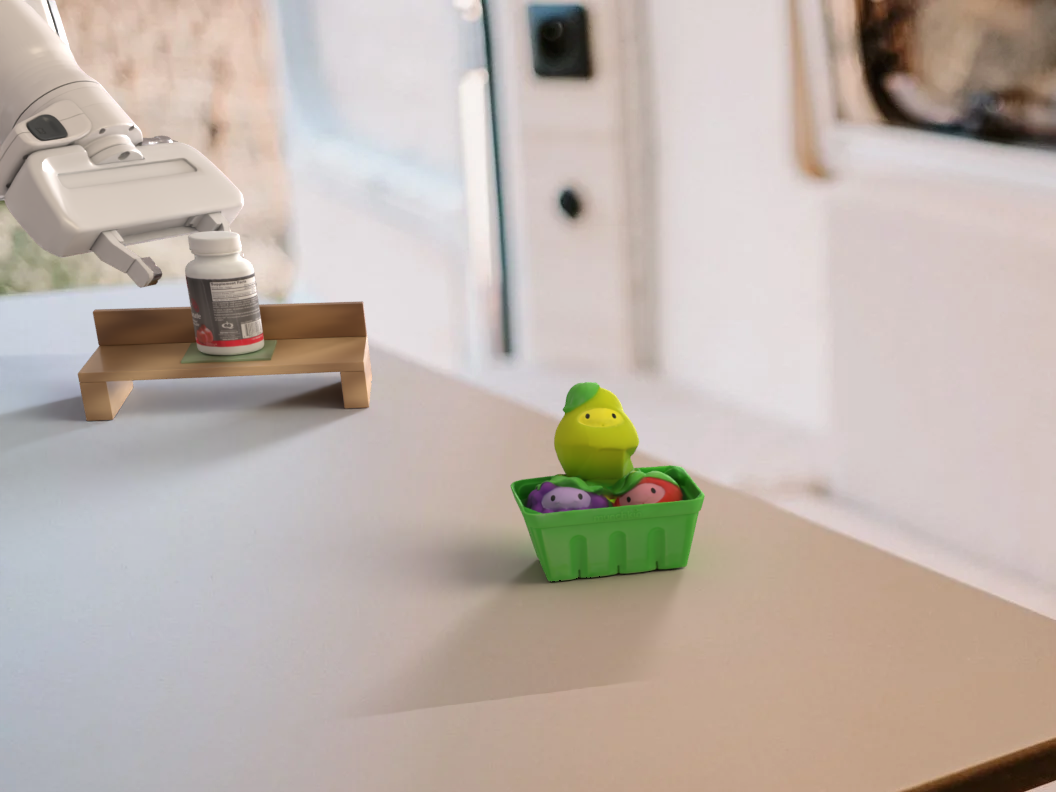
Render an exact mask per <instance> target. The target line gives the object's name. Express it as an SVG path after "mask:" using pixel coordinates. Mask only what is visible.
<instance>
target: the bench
mask: <svg viewBox="0 0 1056 792" xmlns="http://www.w3.org/2000/svg"><path fill="white" fill-rule="evenodd" d="M259 308H260V315H261V322H262V329H263V336H264V346H263V348H262V349H260V350H258V351H255V352H251V353H246V354H240V355H211V354H206V353H203V352H201V351H199V350H198V348H197V342H196V338H195V331H194V324H193V318H192V312H191V306H166V307H165V306H163V307H133V308H132V307H129V308H102V309H101V308H99V309H94V310H93V311H92V317H93V322H94V327H95V332H96V338H97V344H98V347H97V348H96V349H95V351H93V353H92V354H91V356H90V357H89V358H88V360H87V361H86V362H85V363H84V365H83V366H82V367H81V369H80V370H79V371H78V372H77V378H78V383H79V388H80V394H81V400H82V404H83V410H84V415H85V420H86V422H93V421H95V422H96V421H113V420H114V419H115V417H116V416H117V414H118V413H119V411H120V409H121V408H122V406H123V405H124V403H125V401H126V400H127V398H128V397H129V396H130V394H131V392H132V390H133V389H134V382H135V381H156V380H178V379H179V380H180V379H205V378H227V377H252V376H253V377H254V376H279V375H298V374H299V375H300V374H301V375H303V374H324V373H325V374H326V373H339V375H340V383H341V391H342V399H343V406H344V409H365V408H367V409H368V408H370V403H371V402H370V401H371V393H370V392H371V391H372V383H371V381H372V382H373V372H372V364H371V354H370V347H369V339H368V337H369V336H368V329H367V322H366V321H367V320H366V313H365V304H364V301H362V300H361V301H334V302H300V303H299V302H298V303H295V302H294V303H267V304H264V303H263V304H259ZM133 381H134V382H133Z"/></svg>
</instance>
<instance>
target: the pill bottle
mask: <svg viewBox="0 0 1056 792" xmlns="http://www.w3.org/2000/svg"><path fill="white" fill-rule="evenodd" d="M187 241H188V247H189V250H190V253H191V254H192V255H193V256H194V259H193V260H190V261H189V262H188V263H186V265H185V266H184V274H185V275H184V276H185V281H186V287H187V294H188V300H189V307H191V312H192V318H193V324H194V331H195V338H196V342H197V348H198V350H199V351H201V352H203V353H206V354H211V355H240V354H246V353H251V352H255V351H258V350H260V349H262V348H263V346H264V336H263V329H262V322H261V315H260V308H259V305H260V302H259V295H258V287H257V286H258V285H257V280H256V273H255V268H254V265H253V263H252V262H251V261H249V260H248V259H246V258H245V257H244V258H241V257H240V252H241V251H242V252H243V249H242V248H243V246H242V241H241V236H240V233H239V232H236V231H231V232H229V231H207V232H198V233H193V234H188V237H187Z"/></svg>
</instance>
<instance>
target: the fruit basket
mask: <svg viewBox="0 0 1056 792" xmlns="http://www.w3.org/2000/svg"><path fill="white" fill-rule="evenodd" d="M562 411H563V413H564V414H563V417H562V418H561V420H560V421H559V422H558V425H557V427H556V429H555V433H554V439H553V446H554V451H555V454H556V457H557V459H558V462H559V463H560V466H561V468H562V470H563V472H564V473H557V474H554V475H549V476H548V475H546V476H540V477H530V478H523V479H518V480H515V481H513V482H512V483H510V490H511V492H512V495H513V498H514V500H515V502H516V504H517V507H518V508H519V510H520V513H521V515H522V517H523V521H524V523H525V526H526V529H527V531H528V534H529V537H530V541H531V543H532V546H533V549H534V552H535V554H536V557H537V559H538V561H539V564H540V566H541V569H542V571H543V573H544V574H545V578H546V580H547V581H548V582H550V581H551V582H552V581H555V582H562V581H572V580H577V579H579V578H581V579H590V577H591V578H599V576H600V577H607V576H613V575H617V574H636V573H645V572H649V571H650V572H651V571H655V570H670V569H681V568H685V567H687V566H688V562H689V557H690V553H691V549H692V544H693V540H694V535H695V530H696V526H697V522H698V517H699V512H700V511H701V510H702V508H703V504H704V500H705V496H706V495H705V493H704V492H703V491H702V489H701V488H700V487H699V486H698V485H697V483H696V482H695V481H694V480H693V478H692V477H691V475H690V474H689V473H688V472H687V471H686V469H685V468H684V467H682V466H679V465H657V466H643V467H634V464H633V461H632V459H631V457H632V456H633V455H634V454H635V453H636V451H637V449H638V446H639V445H640V438H639V434H638V432H637V431H638V430H637V428H636V427H635V425H634V423H633V422H632V420H631V418H629V416H628V415H627V414H626V413H625V410H624V408H623V404H622V402H621V401H620V399H619V398H618V397H617V395H616V394H615V393H613V392H612V391H611V390H609V389H607V388H604V387H602V386H600V384H599V383H598V382H591V381H585V382H577V383H576V384H575V383H574V385H572V386H571V387H570V389H569V390H568V392H567V393H566V397H565V403H564V406H563V408H562ZM578 577H579V578H578ZM586 577H587V578H586ZM576 578H577V579H576ZM559 580H561V581H559ZM552 583H553V582H552Z"/></svg>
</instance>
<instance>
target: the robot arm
mask: <svg viewBox="0 0 1056 792" xmlns="http://www.w3.org/2000/svg"><path fill="white" fill-rule="evenodd" d="M59 11H60V10H59V9H58V6H57V1H56V0H0V201H4V204H5V206H6V208H7V210H8V212H9V213H10V214H11V216H12V217H13V218H14V220H16V222H17V223H18V224H19V226H20V227H21V228H22V229H23V230H24V231H25V232H26V234H27V235H28V236H29V237H30V239H32V240H33V241H34V243H36V245H37V246H39V248H41V249H42V250H44V251H45V252H46V253H49V254H51V255H53V256H55V257H57V258H68V257H72V256H78V255H84V254H90V253H94V255H95V256H96V257H97V258H98V259H99V260H100V261H101V262H103V263H104V264H106V265H108V266H110V267H112V268H114V269H116V270H118V271H120V272H121V273H123V274H126V275H127V276H128V277H129V278H130V280H132V281H133V283H134V284H135V285H137V287H138V288H140V289H141V288H146V287H150V286H156V285H157V284H158V283H159V280H160V279H161V278H162V277H163V271H162V269H161V268H160V267H159V266H157V265H156V263H155V261H154V259H152V258H151V256H145V257H142V256H141V255H139V254H138V253H136V252H134V251H133V250H131V248H128V246H133V245H134V246H135V245H139V244H144V243H150V242H154V241H160V240H167V239H172V238H176V237H183V236H187V235H188V236H189V235H190V234H193V233H198V232H207V231H229V232H232V230H231V225H232V224H233V222H234V221H235V220H236V218H237V217H238V215H240V212H241V211H242V209H243V208H244V205H245V200H244V195H243V193H242V191H241V190H240V189H239V187H238V186H236V184H234V183H233V181H232V180H231V179H230V178H229V177H228V176H227V175H226V174H225V173H224V172H223V171H222V170H220V168H219V167H218V166H217V165H216V164H215V163H214V162H212V161H211V160H210V159H209V158H208V157H207V156H206V155H205V154H203V153H202V152H201V151H200V150H198V149H197V148H196V147H194V146H192V145H191V144H188V143H185V142H181V141H177V140H174V139H171V137H170V136H167V135H156V136H154V137H144V136H143V132H142V130H141V128H140V127H139V126H138V125H137V124H136V123H135V121H134V120H133V119H132V118H131V117H130V115H128V113H127V112H126V111H125V110H124V109H123V108H122V106H120V104H119V103H118V102H117V101H116V100H115V98H114V97H112V95H111V94H110V93H109V92H108V91H107V90H106V89H105V87H104V86H103V85H102V84H101V83H100V82H99V81H98V80H96V79H95V78H93V77H92V76H91V75H89V74H87V73H86V72H85V71H84V70H83V69H82V68H81V67H80V65H79V64H78V63H77V60H76V58H75V56H74V53H73V52H72V51H71V47H70V44H69V40H68V37H67V34H66V31H65V27H64V25H63V21H62V17H61V15H60V12H59ZM240 257H241V258H244V259H245V254H244V253H243V250H242V251H241V252H240Z"/></svg>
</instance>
